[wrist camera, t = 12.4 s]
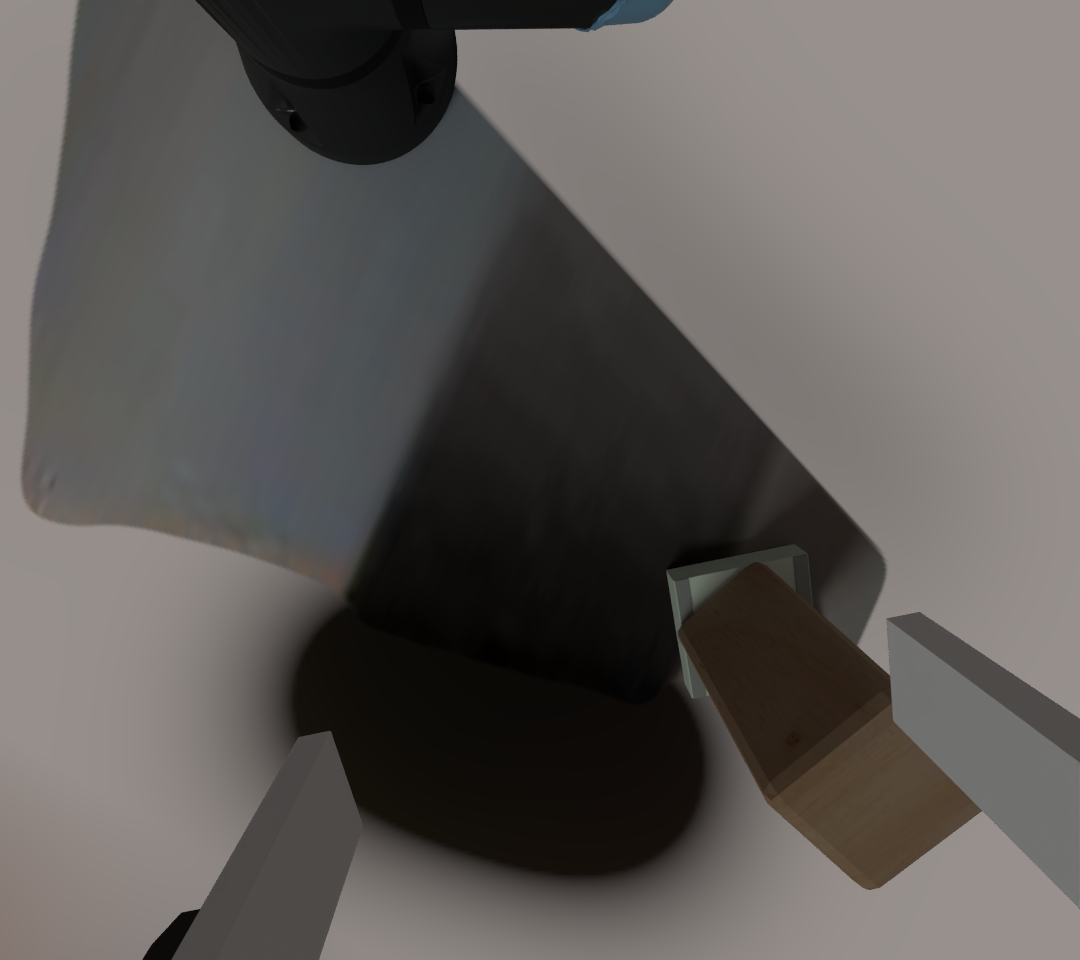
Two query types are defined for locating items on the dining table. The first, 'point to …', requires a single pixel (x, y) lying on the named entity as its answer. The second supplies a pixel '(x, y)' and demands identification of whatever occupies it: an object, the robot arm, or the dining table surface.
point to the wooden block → (820, 729)
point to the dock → (708, 578)
